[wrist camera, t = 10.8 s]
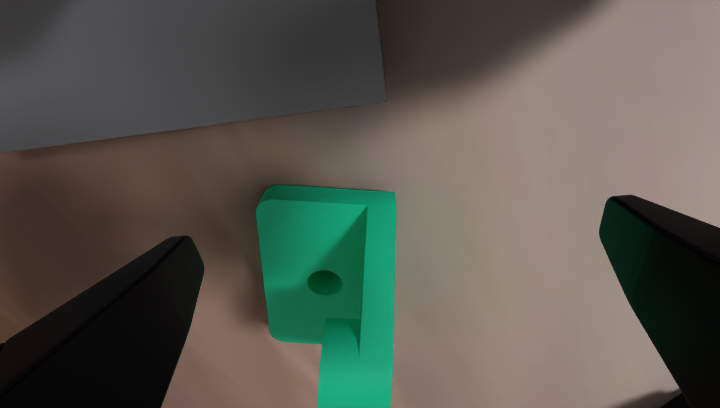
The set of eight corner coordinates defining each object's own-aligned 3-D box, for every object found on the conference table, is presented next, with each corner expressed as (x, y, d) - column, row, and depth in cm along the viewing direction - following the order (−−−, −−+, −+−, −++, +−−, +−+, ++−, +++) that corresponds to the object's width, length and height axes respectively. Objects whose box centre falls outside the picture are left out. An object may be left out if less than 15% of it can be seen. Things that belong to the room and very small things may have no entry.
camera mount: (265, 174, 23) (199, 309, 14) (394, 182, 23) (404, 322, 14) (278, 312, 30) (238, 460, 21) (378, 318, 30) (379, 469, 21)
